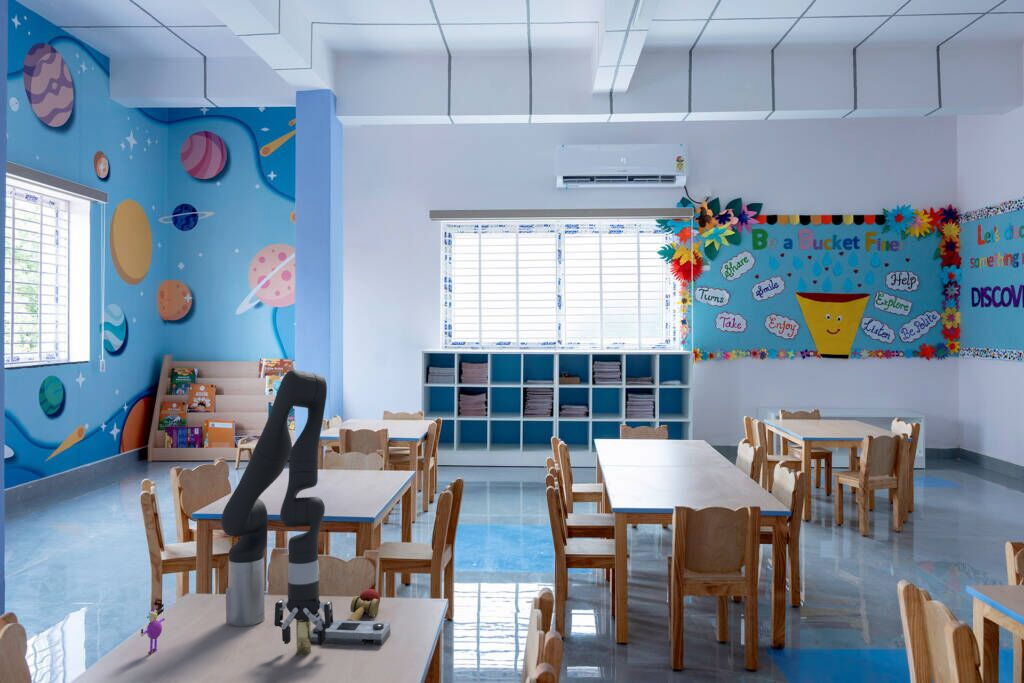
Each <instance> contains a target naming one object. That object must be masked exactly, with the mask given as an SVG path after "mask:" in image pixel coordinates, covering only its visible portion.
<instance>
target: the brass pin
mask: <svg viewBox="0 0 1024 683" xmlns="http://www.w3.org/2000/svg"><path fill="white" fill-rule="evenodd" d="M295 622H296V623H295V624H296V626H295V627H296V655H298V656H307V655H309V654H311V653H312V643H311V631H312V629H311V628H312V626H311V624H312V622H311V620H309V621H305V620H296V621H295Z"/></svg>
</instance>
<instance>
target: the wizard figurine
mask: <svg viewBox="0 0 1024 683" xmlns="http://www.w3.org/2000/svg"><path fill="white" fill-rule="evenodd" d="M164 605H165V604H164V603H162V604H161V605H159V606H158V607H157V608H155V607H154V605H152V606H151V609H150V611H148V616H146V618H147V619H148V621H149V622H148V624H147V627H146V630H145V631H144V627H141V630H140V631H141V632H140V637H143V636H144V635H147V637H148V638H149V640H150V642H149V651H148V652H147V654H148V655H152V654H153V652H157V651H158V649H157V648H158V647H157V646H158V641H157V640H158V638H159V637H160V636H161V634H162V630H163V626H162V624H161V623H162V622H164V621H165V620H166V617H165V616H164V617H162V618H161V619H160V620H158V616H159V615H160V614H162V613H163V612H164V609H165V608H163V607H164ZM153 640H154V641H153ZM153 644H154V645H153ZM153 646H154V647H153Z"/></svg>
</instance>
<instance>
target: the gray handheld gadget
mask: <svg viewBox="0 0 1024 683" xmlns="http://www.w3.org/2000/svg"><path fill="white" fill-rule="evenodd" d="M347 620H348V619H347ZM347 620H343V619H340V620H339V619H335V620H333V624H332V625H331V626H330V628H328V629H327V628H326V639H325V641H324V642H323V644H335V645H353V646H356V645H358V646H359V645H360V646H362V645H364V644H365V642H366V641H367V640H373V646H383V645H384V643H385V642H386V641H387V639H388V637H389V636H390V635H391V622H390V621H373V620H370V621H369V620H366V621H365V620H359V621H347ZM318 630H319V629H318V628H317V627H316V626H314V627H313V629H311V644H318V634H317V631H318Z"/></svg>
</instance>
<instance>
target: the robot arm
mask: <svg viewBox="0 0 1024 683" xmlns="http://www.w3.org/2000/svg"><path fill="white" fill-rule="evenodd" d="M327 394H328V385H327V380H326V379H325V377H324V376H323V375H321V374H319V373H314V372H307V371H302V370H296V369H292V370H288V371H287V372H286V373H285V375H284V376H283V378H282V379H281V381H280V383H279V387H278V389H277V392H276V394H275V395H276V396H275V398H274V401H273V403H272V404H273V405H272V408H271V409H270V413H269V415H268V418H267V420H266V423H265V425H264V428H263V430H262V431H261V435H260V437H259V438H258V441H257V442H256V445H255V447H254V448H253V451H252V454H251V456H250V459H249V461H248V463H247V466H246V468H245V470H244V472H243V474H242V476H241V478H240V481H239V483H238V484H237V485H236V487H235V489H234V491H233V492H232V494H231V495H230V498H229V500H228V501H227V502H226V505H225V506H224V509H223V510H222V514H221V520H220V521H221V523H220V524H221V528H222V531H223V532H224V533H225V535H227V536H229V537H232V538H233V537H240V538H239V540H237V542H236V543H235V544H234V545H233V546H231V547H230V549H229V550H228V587H226V588H225V624H228V625H231V626H234V627H248V626H254V625H257V624H259V623H261V622H263V621H265V619H266V618H265V615H266V614H265V612H266V610H265V608H266V607H265V550H266V547H267V544H268V522H269V519H268V510H267V506H266V504H265V502H264V501H262V500H261V499H260V498H259V497H260V496H261V495H262V494H263V493H264V492H265V491H266V490H267V489H268V488H269V487H270V486H271V485H272V484H273V483H274V482H275V481H276V480H277V479H278V477H279V476H281V474H282V473H283V471H284V470H285V468H286V466H287V463H288V462H289V464H288V465H289V466H288V482H287V488H286V492H285V496H284V499H283V501H282V504H281V508H280V513H279V517H280V520H281V523H282V525H284V526H285V527H286V528H287V527H288V528H297V527H309V529H308V530H307V531H306V532H304V533H301V534H297V535H294V536H291V537H290V538H289V540H288V544H287V545H288V546H287V547H288V562H287V563H288V564H287V601H286V600H284V599H282V598H281V599H279V600H278V601H277V602H275V604H274V623H273V625H274V627H279V628H281V635H282V636H281V638H282V639H281V640H282V642H283V644H284V645H288V644H290V643H291V639H292V638H291V626H290V625H291V623H292V622H293V621H294V620H296V621H297V620H305V621H309V620H311V624H312V625H314V626H315V627H317V628H318V629H319V630H318V631H317V634H318V643H317V646H322V645H323V644H324V643H323V642H324V641H325V639H326V628H327V629H328V628H330V626H331V625H332V624H333V622H334V612H333V603H332V601H331V600H328V601H326V602H321V601H320V567H319V555H318V554H319V553H318V550H319V549H318V548H319V547H318V546H319V536H320V535H319V534H320V531H321V526H322V525H323V524H322V523H323V519H324V516H325V511H326V506H325V502H324V501H323V500H322V498H320V497H318V496H309V497H307V496H306V497H301V496H300V497H297V496H298V494H299V493H300V492H301V491H304V490H306V489H312V488H314V487H316V486H317V484H318V482H319V478H318V477H319V475H318V474H319V448H320V447H319V446H320V440H321V434H322V428H323V427H322V426H323V422H324V415H325V410H326V409H325V408H326V404H327ZM293 407H297V408H306V409H307V420H306V423H305V425H304V428H303V429H302V430H301V433H300V434H299V436H298V437H297V439H296V440H295V441H294V444H293V443H292V438H291V434H290V430H289V426H288V420H289V418H288V417H289V415H290V413H291V410H292V408H293ZM285 609H287V610H288V612H289V614H288V615H287V618H285V620H284V611H285ZM320 609H321V610H322V612H323V613H324V615H323V616H324V619H323V616H322V613H320V611H319V610H320Z"/></svg>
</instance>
